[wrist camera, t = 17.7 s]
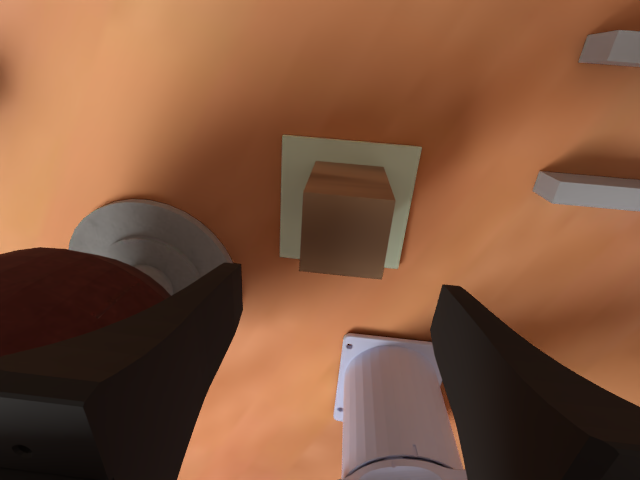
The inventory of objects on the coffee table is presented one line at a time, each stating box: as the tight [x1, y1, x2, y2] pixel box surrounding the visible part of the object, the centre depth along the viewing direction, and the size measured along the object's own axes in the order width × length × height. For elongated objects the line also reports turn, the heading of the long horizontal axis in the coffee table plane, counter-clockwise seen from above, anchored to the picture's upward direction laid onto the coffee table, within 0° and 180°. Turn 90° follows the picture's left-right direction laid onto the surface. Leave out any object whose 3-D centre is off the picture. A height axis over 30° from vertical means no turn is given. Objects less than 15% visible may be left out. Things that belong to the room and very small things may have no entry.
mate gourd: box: [0, 199, 233, 357], centre depth 16 cm, size 16×14×20 cm
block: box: [299, 161, 396, 279], centre depth 18 cm, size 4×4×6 cm
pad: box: [280, 135, 422, 269], centre depth 22 cm, size 8×8×1 cm
